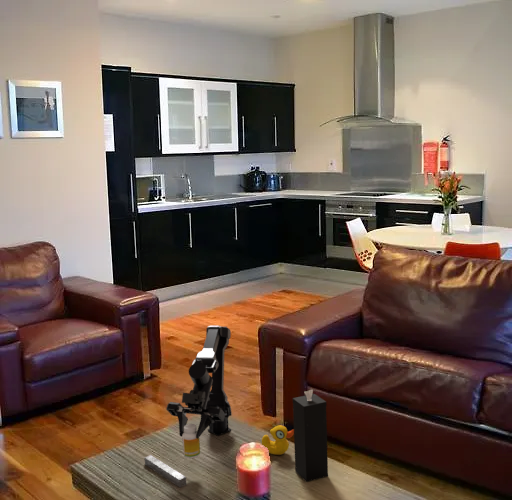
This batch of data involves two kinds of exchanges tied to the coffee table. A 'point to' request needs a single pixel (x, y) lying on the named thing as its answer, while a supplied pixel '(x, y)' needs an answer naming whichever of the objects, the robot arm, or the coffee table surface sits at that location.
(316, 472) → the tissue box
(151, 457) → the price rail
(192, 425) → the supplement bottle
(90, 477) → the coffee table surface
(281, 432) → the duckling
